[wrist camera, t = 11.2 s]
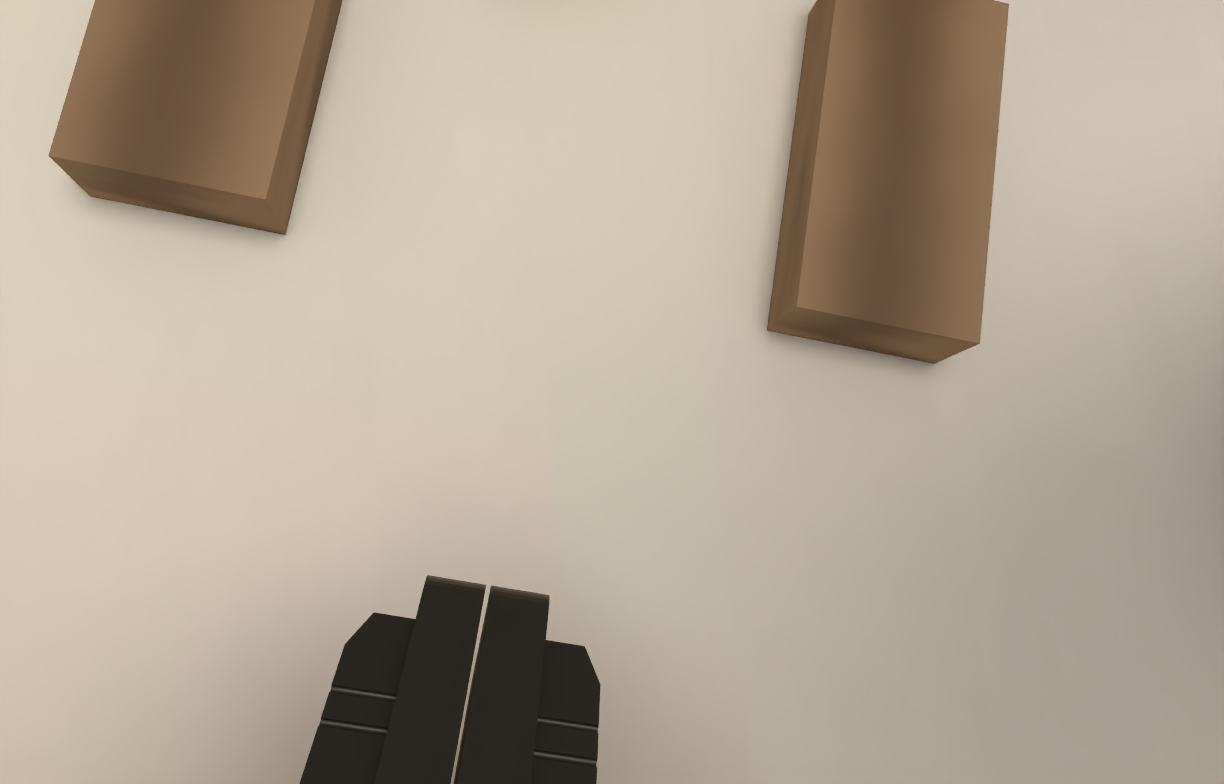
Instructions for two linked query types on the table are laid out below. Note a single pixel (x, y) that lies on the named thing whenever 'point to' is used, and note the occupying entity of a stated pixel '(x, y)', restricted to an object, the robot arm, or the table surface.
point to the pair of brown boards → (817, 176)
